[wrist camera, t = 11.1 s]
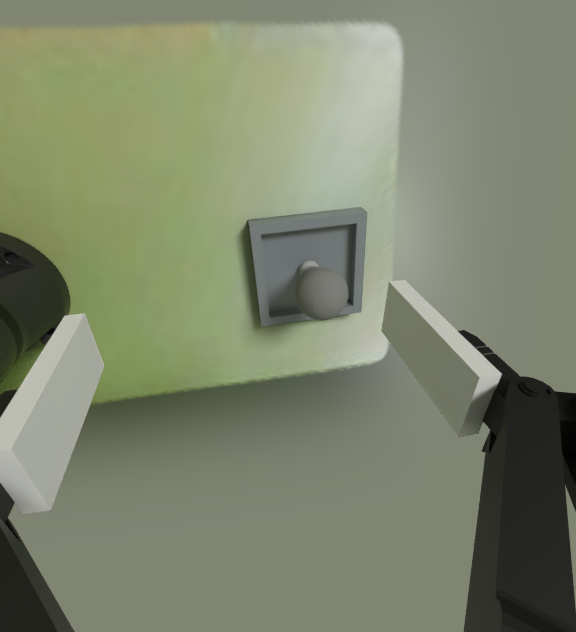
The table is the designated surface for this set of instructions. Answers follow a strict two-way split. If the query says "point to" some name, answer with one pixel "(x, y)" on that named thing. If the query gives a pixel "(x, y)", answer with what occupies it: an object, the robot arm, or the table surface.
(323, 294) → the grey light bulb
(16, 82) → the table surface
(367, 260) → the table surface
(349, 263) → the dish
